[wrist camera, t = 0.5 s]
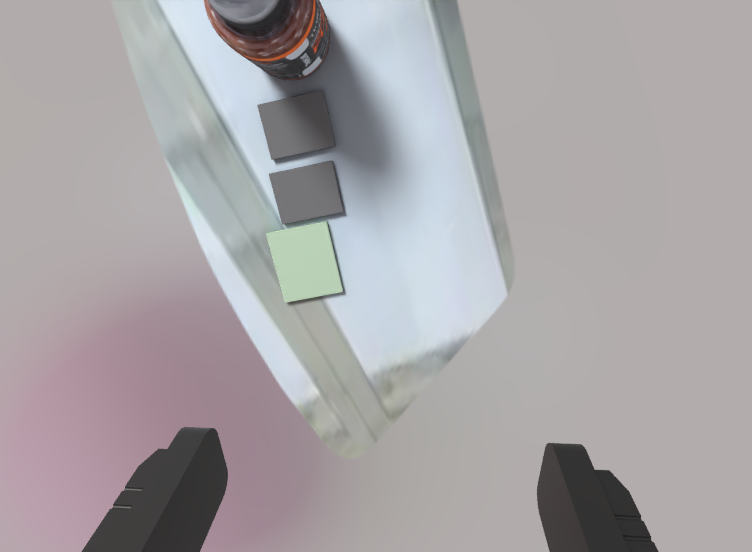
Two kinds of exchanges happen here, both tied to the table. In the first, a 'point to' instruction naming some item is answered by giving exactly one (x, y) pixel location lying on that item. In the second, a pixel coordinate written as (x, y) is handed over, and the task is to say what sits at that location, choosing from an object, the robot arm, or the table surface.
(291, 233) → the track
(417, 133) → the table surface
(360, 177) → the table surface
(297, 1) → the supplement bottle
